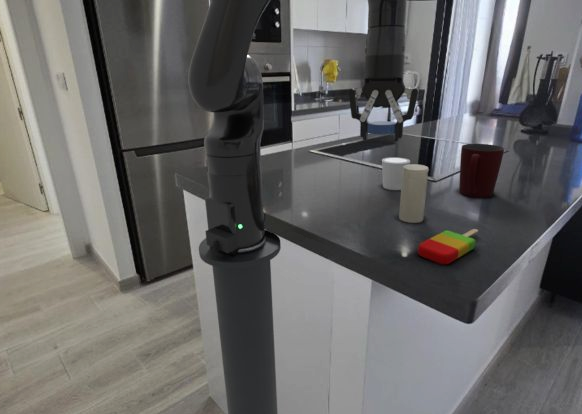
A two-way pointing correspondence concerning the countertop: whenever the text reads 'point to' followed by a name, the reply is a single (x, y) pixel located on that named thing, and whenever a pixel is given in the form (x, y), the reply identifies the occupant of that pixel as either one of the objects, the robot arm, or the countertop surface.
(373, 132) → the lid
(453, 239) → the popsicle
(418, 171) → the jar
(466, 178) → the mug
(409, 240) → the countertop surface
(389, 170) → the white short cylinder
